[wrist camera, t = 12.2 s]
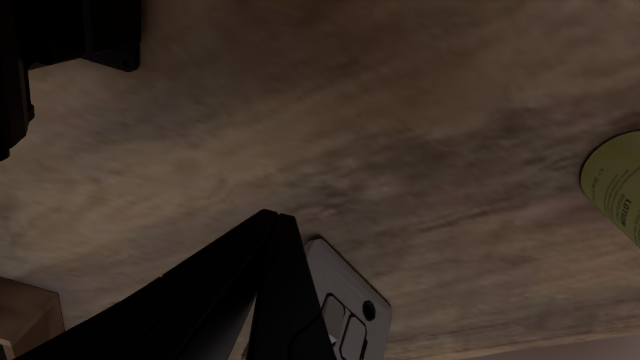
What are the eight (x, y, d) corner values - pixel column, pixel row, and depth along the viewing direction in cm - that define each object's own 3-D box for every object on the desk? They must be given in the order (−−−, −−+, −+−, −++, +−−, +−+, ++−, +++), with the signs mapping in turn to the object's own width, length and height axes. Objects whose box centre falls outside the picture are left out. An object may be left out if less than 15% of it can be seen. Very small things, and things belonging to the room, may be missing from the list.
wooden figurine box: (-1, 357, 40) (-47, 403, 35) (-33, 267, 32) (-96, 311, 28) (73, 378, 40) (36, 426, 35) (57, 293, 32) (9, 341, 28)
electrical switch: (394, 306, 28) (390, 438, 20) (344, 324, 30) (325, 447, 23) (318, 230, 25) (280, 349, 18) (270, 256, 28) (220, 371, 20)
